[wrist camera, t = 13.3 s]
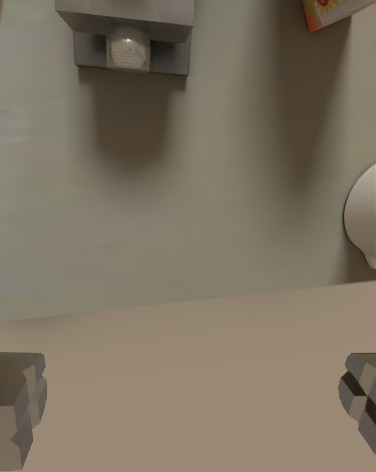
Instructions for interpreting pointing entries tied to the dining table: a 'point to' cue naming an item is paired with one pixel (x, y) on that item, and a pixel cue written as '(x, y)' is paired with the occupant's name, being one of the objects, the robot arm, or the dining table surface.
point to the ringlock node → (131, 34)
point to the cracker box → (331, 11)
